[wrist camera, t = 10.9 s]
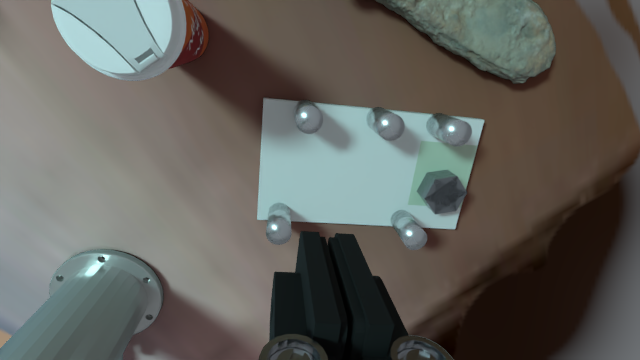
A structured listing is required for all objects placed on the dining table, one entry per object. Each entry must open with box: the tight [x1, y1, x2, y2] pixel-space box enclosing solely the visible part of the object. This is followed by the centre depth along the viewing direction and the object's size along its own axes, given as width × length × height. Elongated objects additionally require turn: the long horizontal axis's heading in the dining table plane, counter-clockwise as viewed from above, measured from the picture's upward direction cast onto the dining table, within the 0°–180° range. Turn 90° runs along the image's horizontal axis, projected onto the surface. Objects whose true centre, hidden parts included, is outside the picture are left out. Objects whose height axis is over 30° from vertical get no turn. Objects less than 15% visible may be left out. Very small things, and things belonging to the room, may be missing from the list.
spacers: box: [266, 100, 472, 250], centre depth 36 cm, size 15×20×5 cm
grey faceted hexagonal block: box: [417, 170, 467, 214], centre depth 39 cm, size 4×5×2 cm
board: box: [257, 98, 484, 229], centre depth 39 cm, size 14×25×1 cm, turn 84°
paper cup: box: [51, 0, 209, 81], centre depth 26 cm, size 8×8×14 cm
